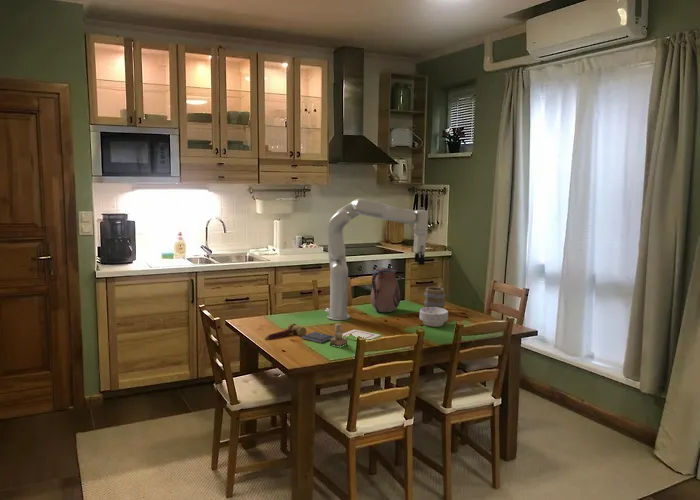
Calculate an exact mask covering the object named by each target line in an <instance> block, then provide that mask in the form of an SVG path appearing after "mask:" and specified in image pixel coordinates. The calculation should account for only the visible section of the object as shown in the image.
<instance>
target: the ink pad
mask: <svg viewBox="0 0 700 500" xmlns="http://www.w3.org/2000/svg"><path fill="white" fill-rule="evenodd" d="M333 338H335V335H330V334H328V333H322V332H319V331H318V332H317V331H314V332H311V333H306V334H305V335H304V336H301V339H302V340H306V341H310V342H314V343H318V342H320V343H319V344H323V343H322V342H324V343H326V342H328V341H327V340H329V341H330V339H333ZM325 341H326V342H325Z"/></svg>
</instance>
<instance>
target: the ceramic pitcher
mask: <svg viewBox="0 0 700 500" xmlns="http://www.w3.org/2000/svg"><path fill="white" fill-rule="evenodd" d="M374 270H375V271H374V272H373V274H372V275H371V287H372V289H371V292H370V303H371V306H372V307H373V309H374V310H375V311H376V312H380V313H393V312H394V311H396V310H397V308H398V307H399V305H400V303H401V292H400V287H399V283H398V279H397V278H396V272H397V269H395V268H394V267H388V268H387V267H376V268H375V269H374Z"/></svg>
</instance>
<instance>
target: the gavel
mask: <svg viewBox="0 0 700 500" xmlns="http://www.w3.org/2000/svg"><path fill="white" fill-rule="evenodd" d="M292 334H297V336H300V337H302V336H304V335H307V328H306V327H304V326H300V325H297V324H296V323H292V322H291V323H289V324H288V327H287V329H285V330H281V331H279V332H275V333H270V334H268V335H266V337H264V340H273V339H278V338H281V337H286V336H289V335H292Z"/></svg>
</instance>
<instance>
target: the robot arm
mask: <svg viewBox="0 0 700 500" xmlns="http://www.w3.org/2000/svg"><path fill="white" fill-rule="evenodd" d="M360 215H362V216H367V217H369V218H370V217H371V218H377V219H380V220H384V221H390V222H396V223H400V224H405V225H412V224H413V236H414V238H413V249H412V250H413V252H414V262H415V263H418V265H423V266H424V265H425V262H426V261H425V257H426V256H425V253H426V244H427V243H426V241H427V236H428V226H429V225H428V224H429V212H428V210H426V209H416V210H415V209H408V208H400V207H396V206H392V205H389V204H387V203H385V202H384V203H383V202H378V201H374V200H369V199H364V198H361V197H360V198H356V199H354V200H353V201H351V202H350V203H347V204H346V205H345V206H343V207H341V208H339V209H338V210H337V211H336V212H335V213H334V215H333V216H331V218H330V219H329V222H328V224H327V244H328V245H327V254H328V261H329V262H328V263H329V269H330V270H329V271H330V273H329V274H330V277H329V278H330V281H329V282H330V283H329V286H330V287H329V288H330V289H329V290H330V291H329V292H330V295H329V308H328V307H326V308H325V310H324V312H325V313H328V314H327V319H329V320H332V321H345V320H348V319H349V320H350V318H351V316H350V314H349V313H348V285H349V283H348V281H349V268H348V265H347V257H346V246H345V241H344V227H345V226H347V225H349V224H350V222H351V221H352V220H353V219H354V218H356V217H358V216H360Z"/></svg>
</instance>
